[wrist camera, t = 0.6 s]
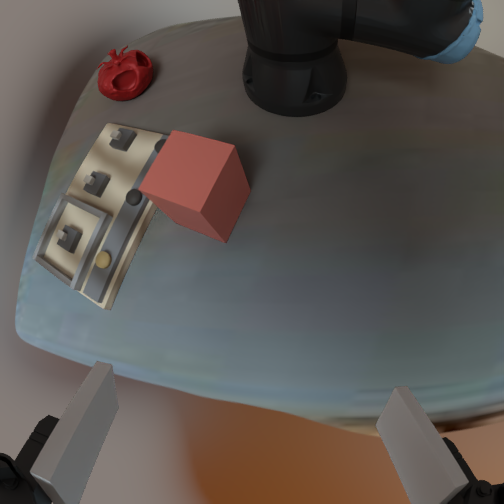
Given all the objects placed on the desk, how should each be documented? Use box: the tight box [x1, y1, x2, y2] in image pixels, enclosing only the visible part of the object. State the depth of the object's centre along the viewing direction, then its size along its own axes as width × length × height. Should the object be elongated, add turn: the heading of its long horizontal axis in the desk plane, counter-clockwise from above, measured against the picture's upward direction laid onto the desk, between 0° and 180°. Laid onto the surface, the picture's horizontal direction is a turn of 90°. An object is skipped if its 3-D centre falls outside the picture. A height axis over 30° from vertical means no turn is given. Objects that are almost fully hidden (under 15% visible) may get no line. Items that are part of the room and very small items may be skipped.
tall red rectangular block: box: [138, 130, 251, 243], centre depth 31 cm, size 7×7×10 cm
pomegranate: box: [97, 45, 153, 101], centre depth 40 cm, size 10×10×9 cm
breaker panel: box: [32, 123, 169, 310], centre depth 37 cm, size 24×16×4 cm, turn 156°
